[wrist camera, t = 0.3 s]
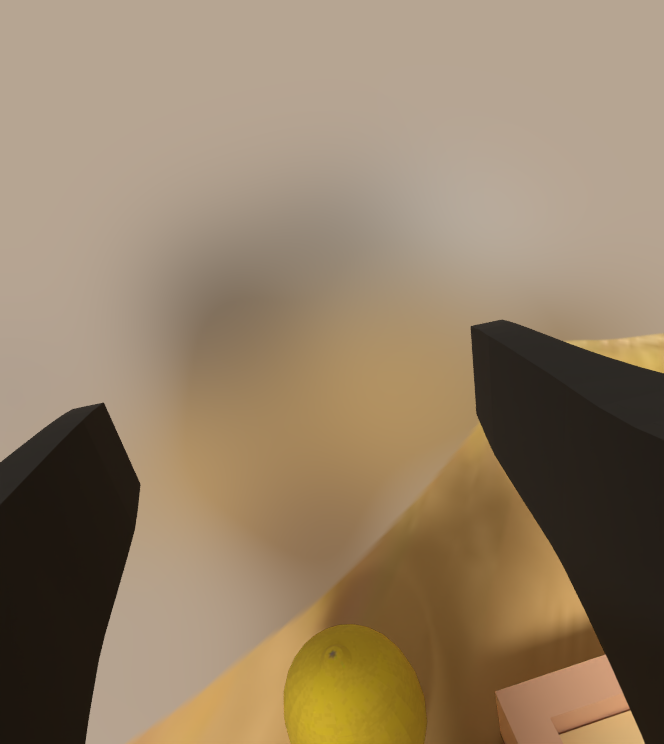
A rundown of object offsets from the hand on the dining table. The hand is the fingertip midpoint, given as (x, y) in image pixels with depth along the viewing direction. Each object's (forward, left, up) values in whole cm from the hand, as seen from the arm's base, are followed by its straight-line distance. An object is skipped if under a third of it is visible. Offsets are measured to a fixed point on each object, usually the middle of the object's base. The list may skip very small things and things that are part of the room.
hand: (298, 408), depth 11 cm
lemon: (+3, +2, -21) cm, 21 cm away
